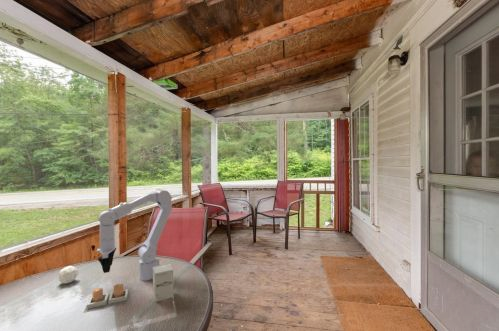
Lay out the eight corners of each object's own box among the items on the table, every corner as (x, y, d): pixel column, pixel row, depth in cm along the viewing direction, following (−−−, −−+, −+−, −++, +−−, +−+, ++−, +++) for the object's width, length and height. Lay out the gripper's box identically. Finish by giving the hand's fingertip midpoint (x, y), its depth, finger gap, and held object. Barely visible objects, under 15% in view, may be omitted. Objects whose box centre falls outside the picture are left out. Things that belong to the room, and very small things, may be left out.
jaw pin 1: (103, 299, 97) (103, 287, 97) (101, 303, 94) (101, 291, 94) (94, 301, 96) (93, 288, 96) (91, 305, 93) (91, 293, 93)
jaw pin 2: (123, 294, 100) (123, 283, 100) (123, 299, 97) (122, 286, 97) (114, 296, 99) (114, 284, 99) (113, 301, 96) (113, 288, 96)
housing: (130, 292, 104) (130, 286, 104) (128, 305, 94) (128, 298, 94) (89, 300, 98) (89, 294, 98) (83, 315, 88) (83, 308, 88)
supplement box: (154, 305, 94) (154, 273, 94) (153, 296, 101) (152, 266, 101) (174, 300, 97) (173, 269, 97) (171, 291, 104) (170, 262, 104)
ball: (64, 288, 115) (59, 272, 117) (83, 278, 119) (77, 263, 121) (57, 287, 108) (52, 270, 111) (77, 276, 112) (72, 261, 115)
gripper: (99, 235, 111) (100, 264, 111) (93, 244, 98) (94, 277, 98) (116, 233, 114) (117, 261, 114) (113, 241, 100) (113, 274, 100)
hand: (107, 268), depth 106 cm, fingers open, 7 cm apart
